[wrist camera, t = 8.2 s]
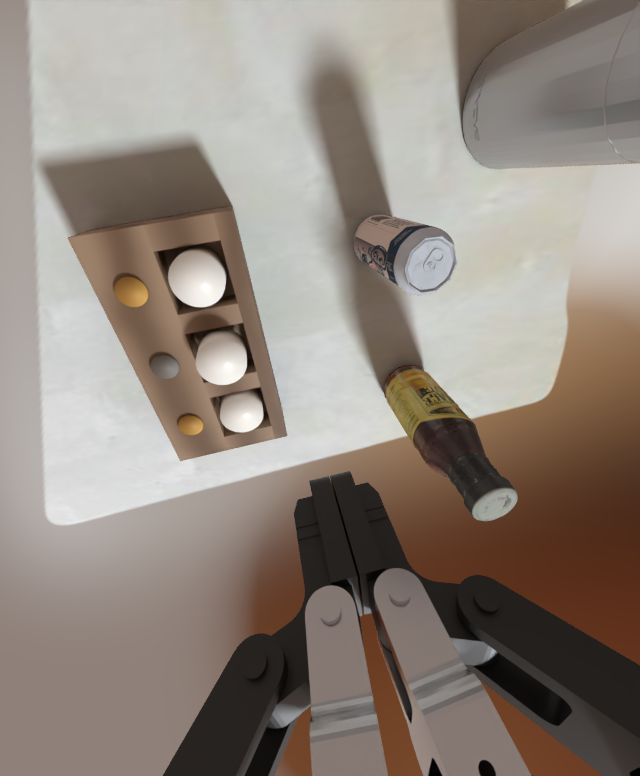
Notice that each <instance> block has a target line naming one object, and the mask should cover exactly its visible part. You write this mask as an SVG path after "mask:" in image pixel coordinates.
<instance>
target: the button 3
mask: <svg viewBox="0 0 640 776" xmlns="http://www.w3.org/2000/svg"><path fill="white" fill-rule="evenodd" d="M220 420H221V422H222V424H223V425H224V426H225V427H226V428H227V429H229V430H231V431H234V432H248V431H251V430H253V429H255V428H256V427H258V426H259V425H260V423H261V422H262V420H263V405H262V396H261V393H260V392H259V390H258V389H257V388H253V389H249V390H244V391H240V392H235V393H231V394H226V395H222V397H221V408H220Z"/></svg>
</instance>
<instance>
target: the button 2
mask: <svg viewBox="0 0 640 776" xmlns="http://www.w3.org/2000/svg"><path fill="white" fill-rule="evenodd" d="M196 368H197V371H198V372H199V374H200V375H201V376H202V377H203V378H204V379H205V380H207V381H208V382H210V383H213V384H217V385H228V384H232V383H234V382H236V381H238V380H239V379H240V378H241V377H242V376H243V375H244V373H245V371H246V368H247V351H246V344H245V342H244V340H243V338H242V337H241V336H240V335H239V334H238V333H236V332H235V331H233V330H230V329H227V328H216V329H213V330H210V331H209V332H207V333H206V334H205V335H204V336H203V337H202V339H201V340H200V343H199V347H198V351H197V356H196Z"/></svg>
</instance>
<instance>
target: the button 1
mask: <svg viewBox="0 0 640 776" xmlns="http://www.w3.org/2000/svg"><path fill="white" fill-rule="evenodd" d="M226 278H227V272H226V267H225V264H224V262H223V260H222V259H221V258H220V256H219V255H218V254H217V253H215V252H214V251H213V250H211V249H209V248H207V247H203V246H191V247H188V248H186V249H184V250H183V251H181V252H180V254H179V255H178V256H177V257H176V258H175V260H174V261H173V262H172V264H171V266H170V268H169V272H168V280H169V284H170V287H171V289H172V291H173V293H174V294H175V295H176V296H177V297H178V298H179V299H180V300H181V301H182V302H184V303H186V304H188V305H190V306H194V307H207V306H211V305H213V304H215V303H216V302H217V301H218V300H219V299H220V298H221V297H222V295H223V293H224V290H225V285H226Z"/></svg>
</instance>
